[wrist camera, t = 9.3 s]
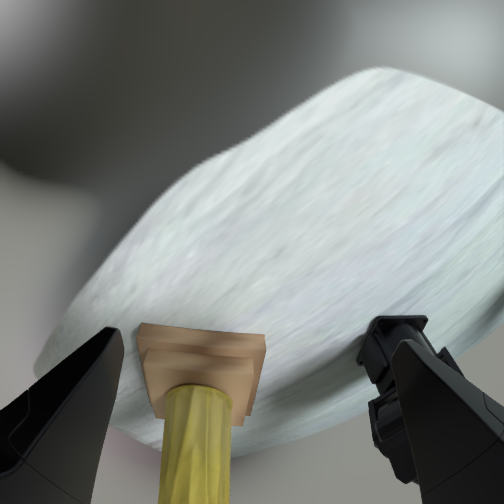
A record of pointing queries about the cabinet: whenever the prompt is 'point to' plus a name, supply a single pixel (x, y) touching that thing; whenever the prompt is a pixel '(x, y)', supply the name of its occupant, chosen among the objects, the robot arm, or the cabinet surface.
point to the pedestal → (201, 364)
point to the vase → (196, 446)
